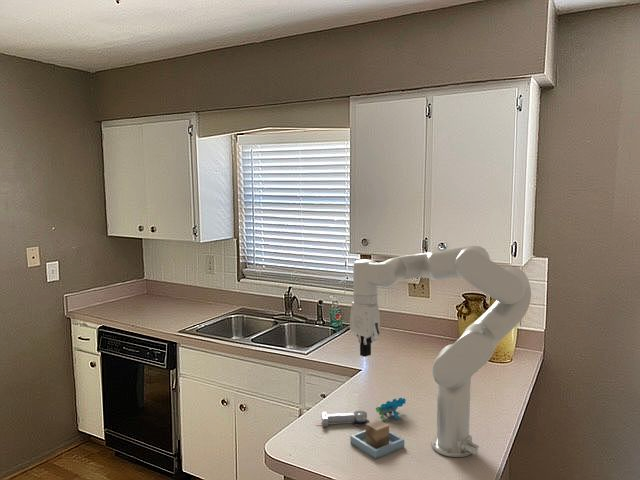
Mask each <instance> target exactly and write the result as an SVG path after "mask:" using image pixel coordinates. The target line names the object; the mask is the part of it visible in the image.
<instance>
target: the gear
mask: <svg viewBox="0 0 640 480" xmlns="http://www.w3.org/2000/svg"><path fill="white" fill-rule="evenodd" d="M406 402H407V399H406V398H403V397H399V398H398V400H397V398H394V399H392V401H390V400H387V401H386V402H385V403H382V404H381V405H380V406H376V407H375V410H376V411H375V412H376V413H378V414H379V416H381V419H382V422H384V421H386V419H385V416H384V415H385V414H389V413H391V412H392V413H393V416H394V418H395V420H396V421H398V420H399V415H398V413H397V409H399V408H398V407H403V406H404V405H405V404H406Z"/></svg>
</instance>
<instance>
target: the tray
mask: <svg viewBox="0 0 640 480" xmlns="http://www.w3.org/2000/svg"><path fill="white" fill-rule="evenodd" d="M349 437H350V438H349V439H350V444H351V445H352V446H353V447H355V448H357V449H358V450H360V451H362V452H363V453H365V454H366V455H368V456H370V457H371V458H372V459H374V460H377V459H380V458H383V457H385V456H387V455H389V454H392V453H394V452H396V451H399V450H401V449H404V448H405V439H404V438H403V437H401V436H400V435H397V433H396V434H395V433H394V432H392V431H391V430H389V444H387V445H385V446H383V447H380V448H378V449H376V448H374V447H372V446H371V445H369V444H367V443H366V429H364V430H362V431H359V432H356V433H354V434H351V435H350V436H349Z"/></svg>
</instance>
